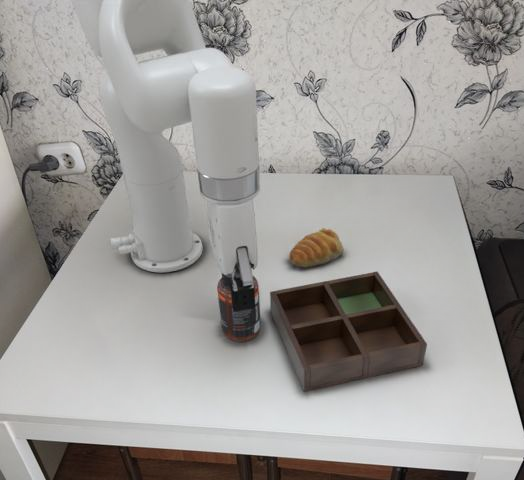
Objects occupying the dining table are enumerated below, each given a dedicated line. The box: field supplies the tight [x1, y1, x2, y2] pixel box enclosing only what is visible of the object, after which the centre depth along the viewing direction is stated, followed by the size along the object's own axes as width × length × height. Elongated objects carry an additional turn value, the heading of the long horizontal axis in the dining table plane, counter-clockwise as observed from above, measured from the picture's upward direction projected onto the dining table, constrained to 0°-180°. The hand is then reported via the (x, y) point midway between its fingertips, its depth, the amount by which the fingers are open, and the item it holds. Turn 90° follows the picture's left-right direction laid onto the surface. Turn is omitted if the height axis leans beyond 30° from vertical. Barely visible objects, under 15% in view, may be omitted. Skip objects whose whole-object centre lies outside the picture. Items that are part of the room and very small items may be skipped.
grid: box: [269, 271, 428, 392], centre depth 86 cm, size 17×17×4 cm
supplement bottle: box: [216, 263, 262, 342], centre depth 85 cm, size 6×6×11 cm
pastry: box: [289, 227, 344, 269], centre depth 101 cm, size 9×7×4 cm
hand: (238, 293), depth 85 cm, fingers closed on supplement bottle, 6 cm apart
